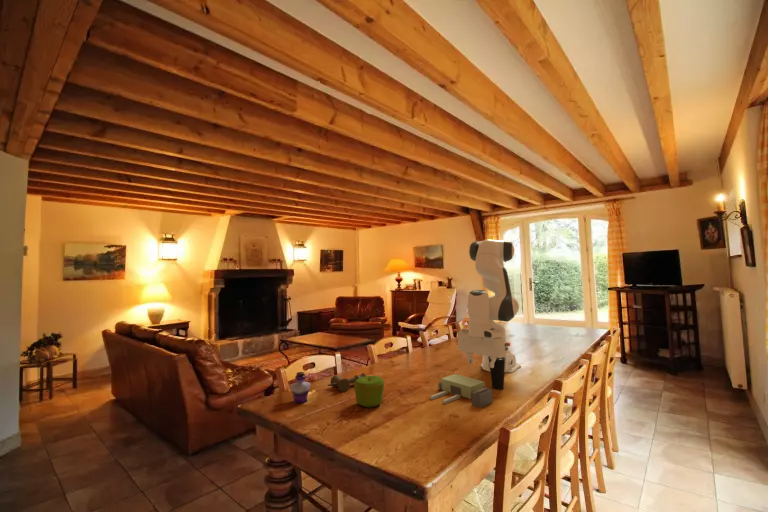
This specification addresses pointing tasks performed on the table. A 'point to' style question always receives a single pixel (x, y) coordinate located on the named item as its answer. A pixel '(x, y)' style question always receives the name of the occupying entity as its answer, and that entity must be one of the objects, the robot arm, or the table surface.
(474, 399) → the dark grey block
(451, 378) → the green block with prongs
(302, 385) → the potion bottle
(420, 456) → the table surface
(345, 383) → the kendama
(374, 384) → the apple
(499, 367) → the drinking cup
